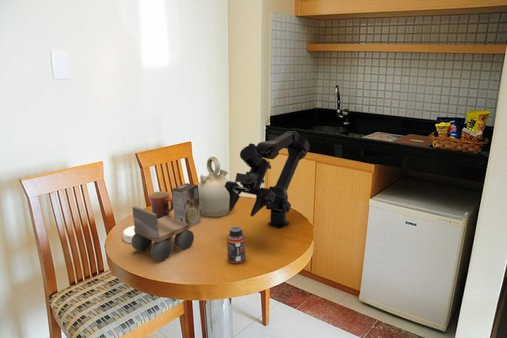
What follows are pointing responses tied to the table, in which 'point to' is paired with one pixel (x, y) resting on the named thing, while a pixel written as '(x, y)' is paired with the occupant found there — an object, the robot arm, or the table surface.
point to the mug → (161, 203)
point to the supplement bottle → (236, 245)
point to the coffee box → (186, 203)
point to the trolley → (159, 233)
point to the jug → (213, 191)
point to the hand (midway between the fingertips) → (240, 213)
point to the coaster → (128, 234)
